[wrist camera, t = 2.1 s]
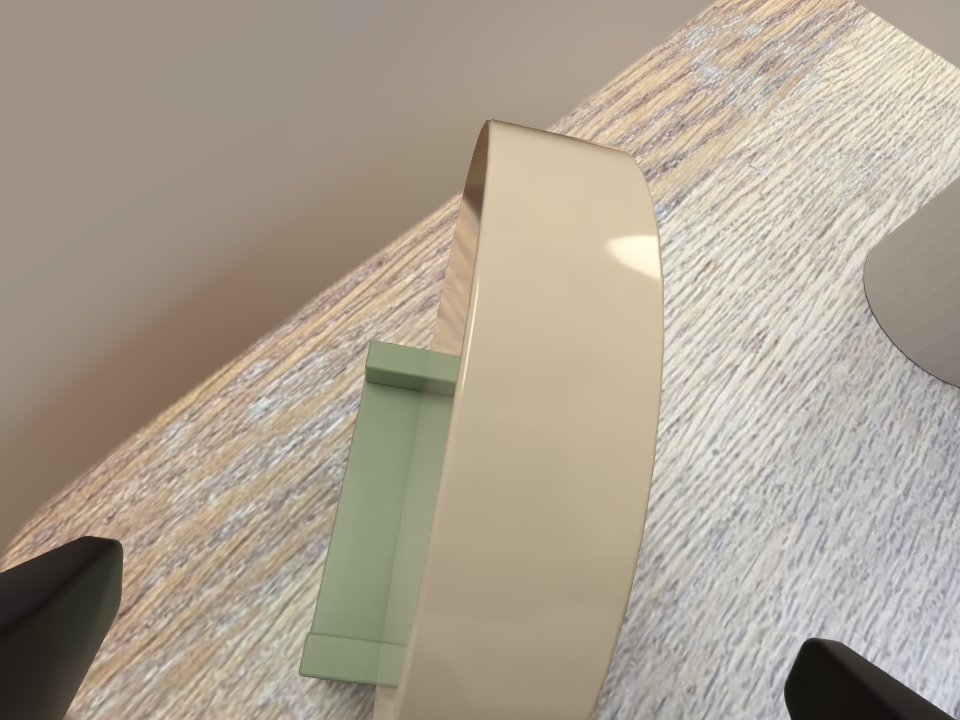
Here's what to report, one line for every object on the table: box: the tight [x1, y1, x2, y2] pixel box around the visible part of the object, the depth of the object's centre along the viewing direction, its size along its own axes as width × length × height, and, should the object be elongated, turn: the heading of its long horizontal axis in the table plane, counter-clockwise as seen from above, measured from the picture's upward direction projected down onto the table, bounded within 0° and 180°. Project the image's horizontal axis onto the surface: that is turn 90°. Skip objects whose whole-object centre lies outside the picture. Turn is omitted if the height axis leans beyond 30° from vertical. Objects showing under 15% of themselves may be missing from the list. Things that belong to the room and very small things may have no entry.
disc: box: [373, 119, 664, 720], centre depth 11 cm, size 10×2×10 cm, turn 174°
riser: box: [299, 340, 430, 685], centre depth 17 cm, size 8×5×7 cm, turn 174°
